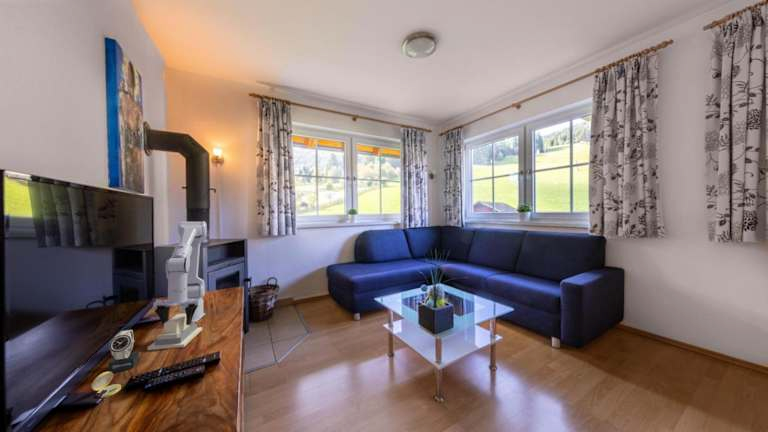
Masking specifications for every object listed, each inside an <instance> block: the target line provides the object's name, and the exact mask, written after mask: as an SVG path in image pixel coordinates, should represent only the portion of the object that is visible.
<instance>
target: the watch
mask: <svg viewBox="0 0 768 432" xmlns="http://www.w3.org/2000/svg"><path fill="white" fill-rule="evenodd" d="M134 343H135V339H134V332H133V329H127V330H120V332H118V333H117V334H116V335H115V336H114V338H113V339H111V340H110V342H109V345H108V348H109V350H110V352H111V355H112V356H113V357H112V358H111V360H110V361H109V362H108V371H107V372H112V373H113V374H114V373H118V372H123V371H127V370H132V369H134V368H135V367H136V365H137V364H138V362H140V360H139V352H140V351H135V352H132V351H133V348H134Z"/></svg>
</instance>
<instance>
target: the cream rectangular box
mask: <svg viewBox="0 0 768 432" xmlns="http://www.w3.org/2000/svg"><path fill="white" fill-rule="evenodd" d="M188 326H189V325H186V313H185V314H180V313H177V314H175V315H174V316H173V317H171V318H169V320H168V321H167V322H165V323H164V327H163V333H164V334H174V333H178V335H179V334H180V333H181V332H182V331H184V330H185V329H186V328H187V327H188Z"/></svg>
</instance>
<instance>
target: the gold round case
mask: <svg viewBox="0 0 768 432" xmlns="http://www.w3.org/2000/svg"><path fill="white" fill-rule="evenodd" d="M113 377H114V372H113V373H112V372H108V371H105V372H102V373H99V375H98V376H97V377H95V379H94V380H93V381H92V383H91V389H92V390H93V391H97V392H96V394H97V393H103V395H102V396H103V398H107V397H111V396H112V395H115V394H117V393H118V392H119V391H121V389H122V385H121V384H119V383H115V384H110V383H111V381H112V380H113ZM109 384H110V385H109Z"/></svg>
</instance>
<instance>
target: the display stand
mask: <svg viewBox="0 0 768 432" xmlns="http://www.w3.org/2000/svg"><path fill="white" fill-rule="evenodd" d="M202 330H203V327H202V326H200V327H198V324H197V323H195V322H194V320H192V321H191V324H189V326H188V327H187V328H186V329H185V330H184V331H182V332H181V333H180V334H179V335H178V333H174V334H164V332H163V333H161V334H158V335H157V338H155V339H154V342H152V343H151V344H150V345H149V346H147V351H152V350H153V351H154V350H164V349H165V350H166V349H174V348H175V349H178V348H184V347H185V346H187V345H188V344H189V343H190V342H191V341H192V340H193V339H194V338H195V337H196V336H198V334H199V333H201V332H202Z"/></svg>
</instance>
